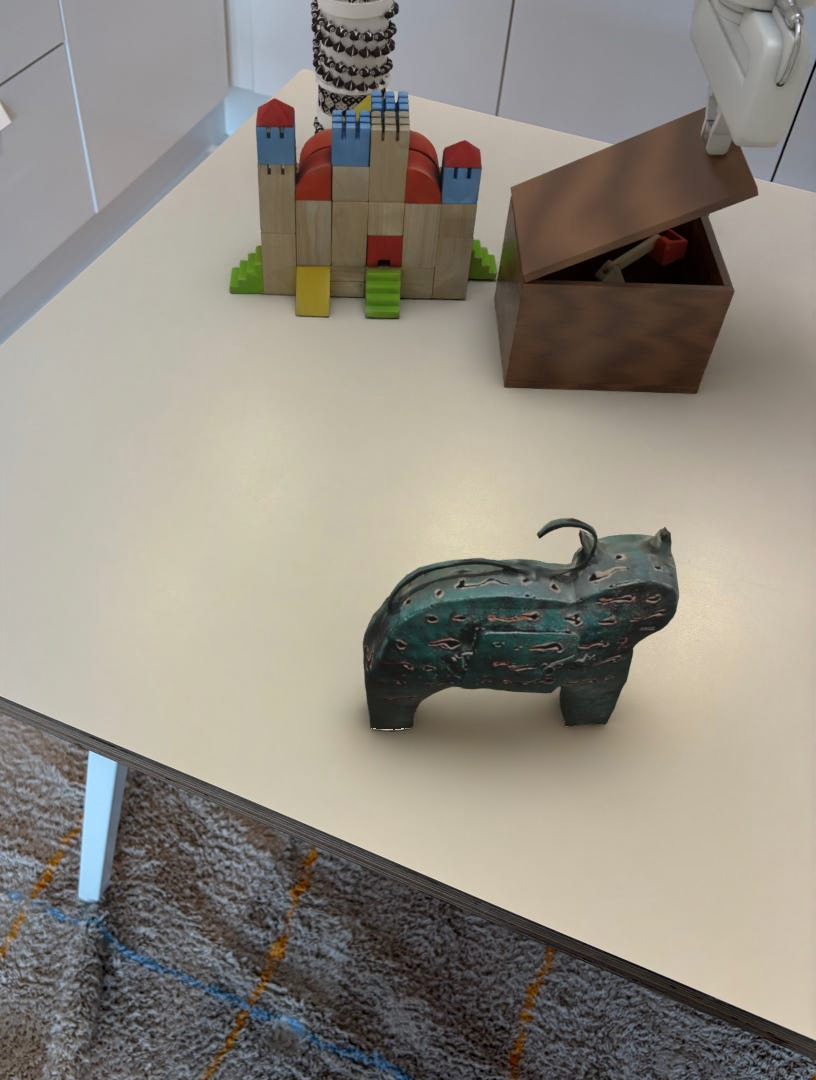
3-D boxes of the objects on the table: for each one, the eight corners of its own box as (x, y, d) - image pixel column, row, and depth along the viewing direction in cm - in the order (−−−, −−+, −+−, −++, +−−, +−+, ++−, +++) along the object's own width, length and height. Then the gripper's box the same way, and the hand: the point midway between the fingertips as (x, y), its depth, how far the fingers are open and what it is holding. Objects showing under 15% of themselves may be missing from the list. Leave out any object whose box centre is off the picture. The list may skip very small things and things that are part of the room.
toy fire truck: (537, 346, 102) (555, 258, 94) (642, 305, 106) (667, 218, 99) (558, 365, 100) (578, 277, 92) (664, 322, 105) (692, 235, 97)
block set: (491, 245, 114) (519, 62, 99) (501, 322, 105) (533, 135, 90) (237, 237, 114) (225, 53, 99) (226, 314, 105) (212, 125, 90)
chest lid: (722, 108, 92) (721, 100, 91) (758, 195, 83) (757, 186, 83) (512, 194, 99) (510, 187, 98) (525, 283, 90) (522, 275, 90)
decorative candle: (353, 152, 126) (361, -87, 106) (404, 183, 122) (422, -59, 102) (294, 175, 122) (291, -67, 102) (344, 209, 118) (351, -38, 98)
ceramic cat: (616, 675, 79) (693, 486, 63) (635, 748, 75) (722, 566, 59) (357, 682, 78) (369, 492, 62) (362, 756, 74) (376, 573, 58)
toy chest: (671, 303, 108) (703, 201, 99) (696, 393, 99) (735, 291, 90) (494, 297, 108) (510, 195, 99) (504, 387, 99) (523, 284, 90)
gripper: (852, 24, 70) (778, 214, 81) (781, -86, 83) (725, 91, 94) (759, 21, 70) (698, 211, 81) (703, -89, 83) (656, 89, 94)
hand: (712, 146), depth 87 cm, fingers closed
